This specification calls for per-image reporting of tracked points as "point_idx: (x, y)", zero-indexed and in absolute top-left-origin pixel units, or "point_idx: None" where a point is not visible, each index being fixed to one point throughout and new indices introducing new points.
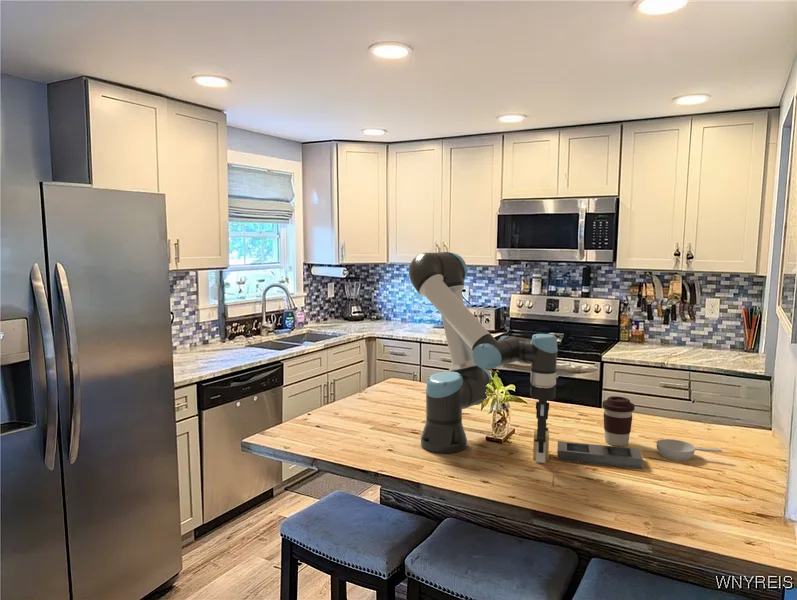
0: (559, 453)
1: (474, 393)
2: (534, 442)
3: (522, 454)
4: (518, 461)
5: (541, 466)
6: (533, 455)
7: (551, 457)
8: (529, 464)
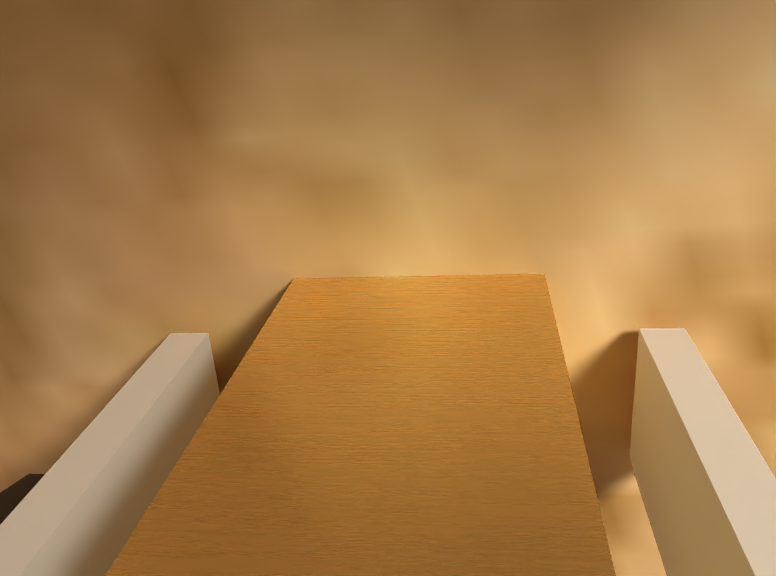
0: None
1: None
2: (181, 481)
3: (465, 79)
4: (99, 46)
5: (86, 401)
6: (275, 313)
7: None
8: (69, 239)
